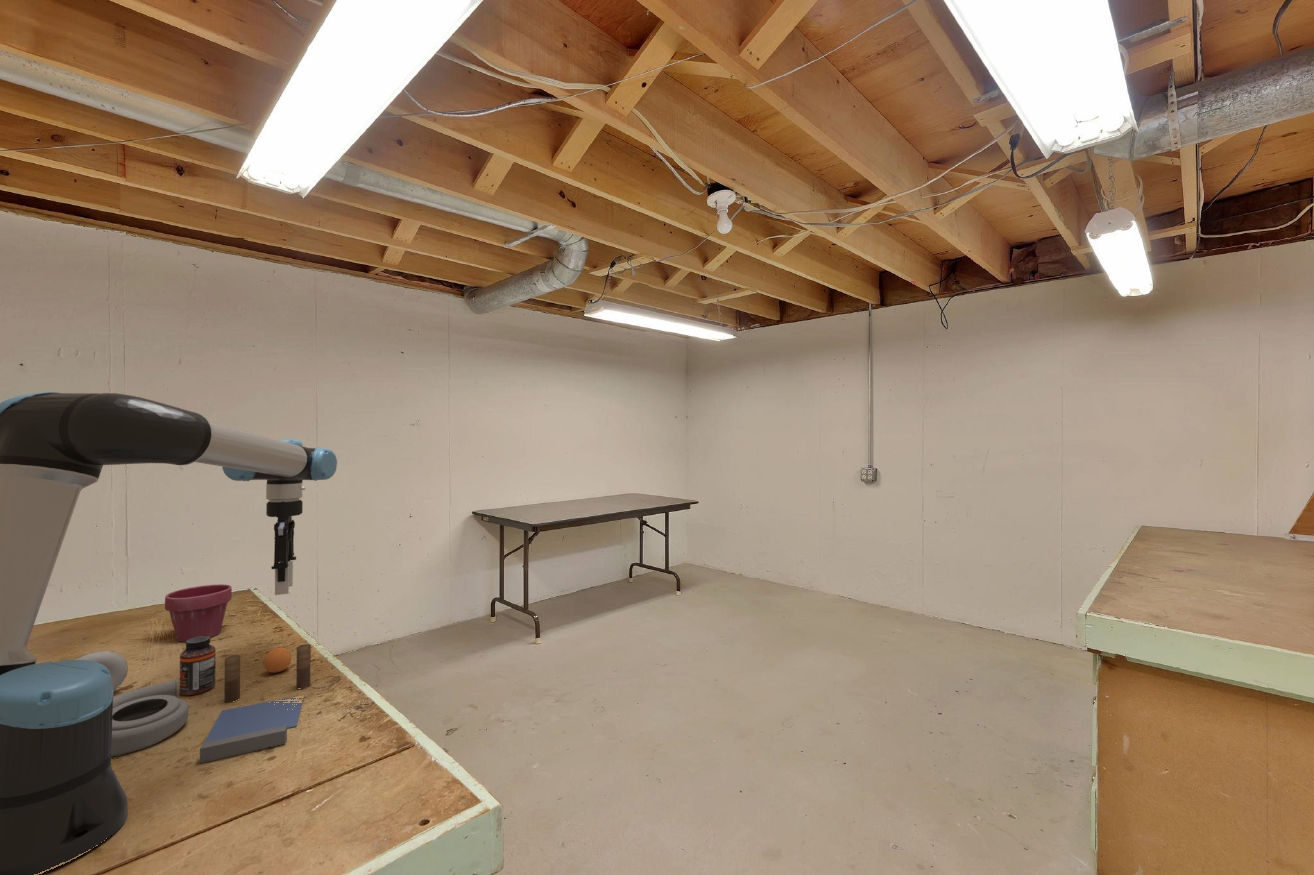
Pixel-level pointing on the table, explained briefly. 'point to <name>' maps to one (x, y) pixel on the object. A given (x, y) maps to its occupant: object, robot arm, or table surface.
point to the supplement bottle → (197, 666)
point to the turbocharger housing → (146, 717)
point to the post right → (303, 666)
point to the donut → (110, 665)
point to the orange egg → (277, 660)
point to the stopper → (242, 744)
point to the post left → (232, 678)
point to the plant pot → (198, 610)
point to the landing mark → (255, 719)
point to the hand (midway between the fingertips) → (284, 590)
